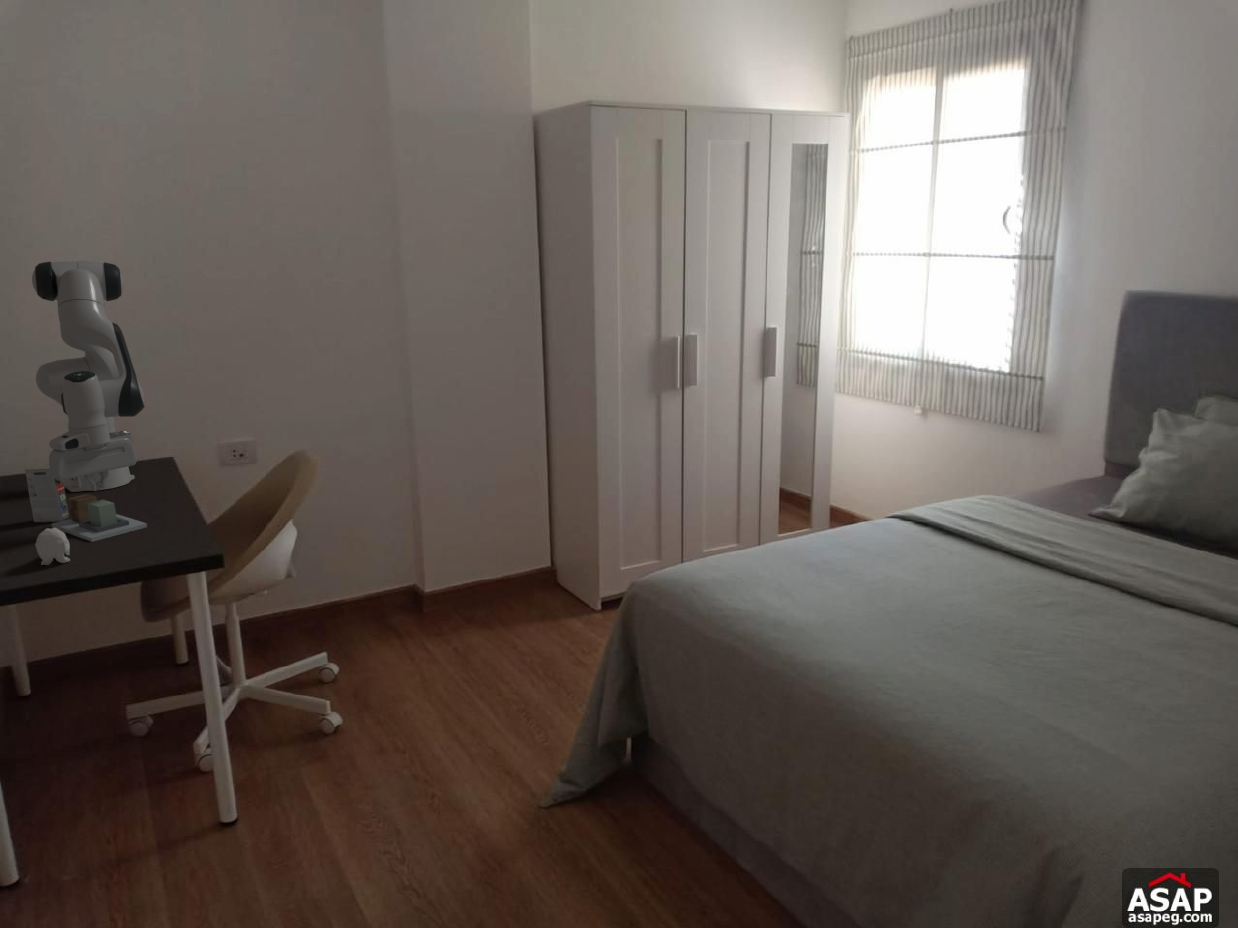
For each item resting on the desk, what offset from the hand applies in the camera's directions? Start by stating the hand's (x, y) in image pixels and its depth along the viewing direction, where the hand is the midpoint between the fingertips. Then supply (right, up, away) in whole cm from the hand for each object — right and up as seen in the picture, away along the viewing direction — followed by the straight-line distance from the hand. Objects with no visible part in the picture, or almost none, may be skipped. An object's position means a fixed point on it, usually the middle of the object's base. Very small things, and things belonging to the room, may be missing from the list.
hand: (98, 489), depth 247 cm
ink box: (-19, -9, +12) cm, 24 cm away
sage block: (0, -9, +2) cm, 10 cm away
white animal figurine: (+1, -16, -20) cm, 26 cm away
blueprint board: (-2, -10, +4) cm, 11 cm away
